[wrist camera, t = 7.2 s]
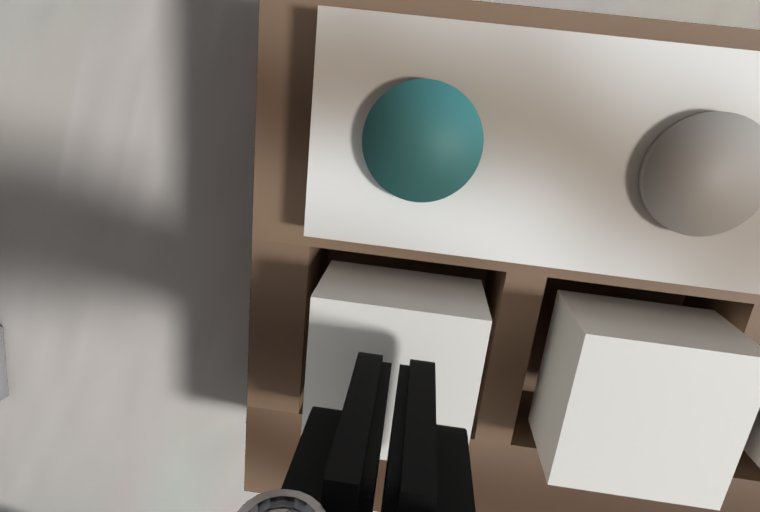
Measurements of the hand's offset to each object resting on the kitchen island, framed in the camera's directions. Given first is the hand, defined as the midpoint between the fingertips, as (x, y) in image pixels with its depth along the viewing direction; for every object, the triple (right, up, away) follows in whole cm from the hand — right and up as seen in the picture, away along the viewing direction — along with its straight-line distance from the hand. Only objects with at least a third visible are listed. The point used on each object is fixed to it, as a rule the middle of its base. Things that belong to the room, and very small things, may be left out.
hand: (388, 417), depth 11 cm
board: (+7, +3, +6) cm, 9 cm away
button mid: (+6, 0, +3) cm, 7 cm away
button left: (0, +1, +3) cm, 3 cm away
